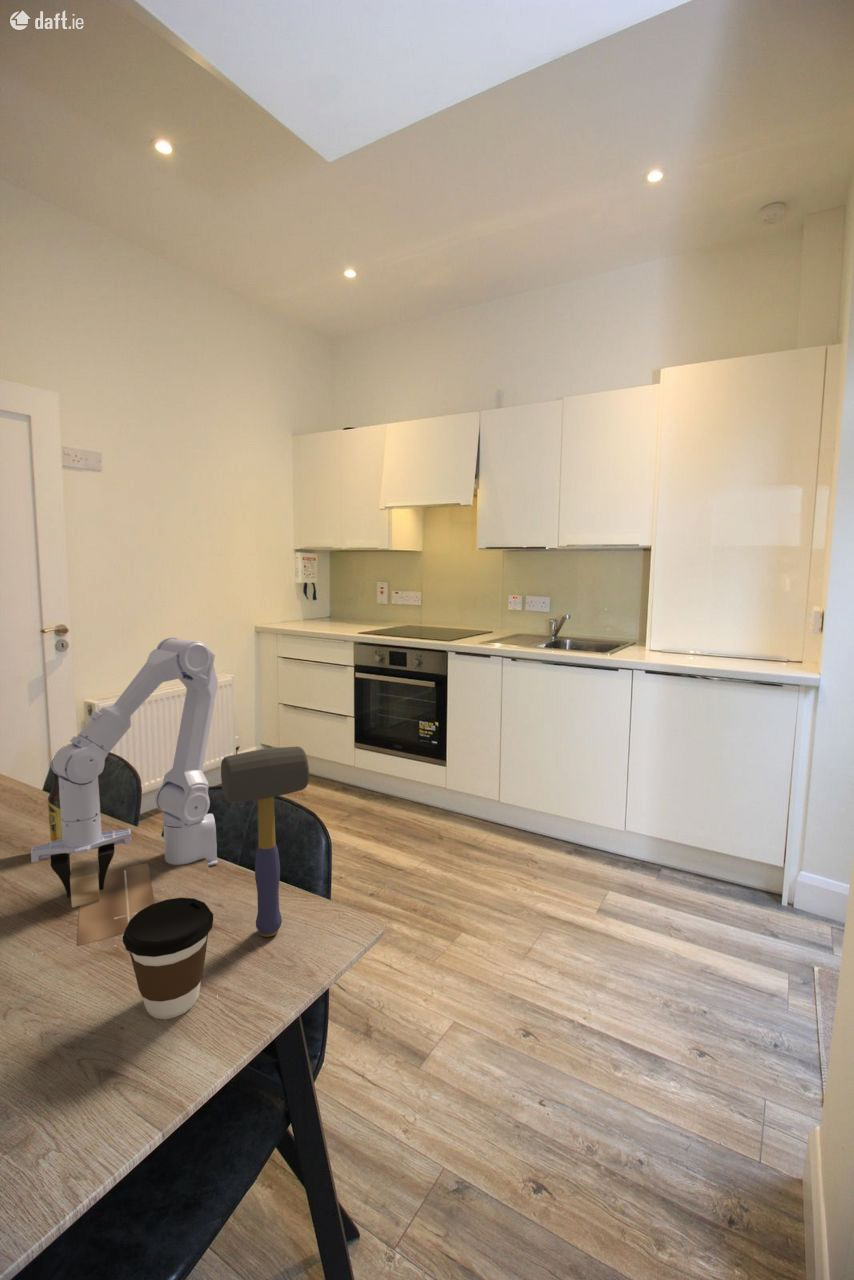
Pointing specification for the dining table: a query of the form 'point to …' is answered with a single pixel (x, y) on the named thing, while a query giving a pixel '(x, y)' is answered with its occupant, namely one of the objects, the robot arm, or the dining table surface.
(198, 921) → the coffee cup
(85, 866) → the light wooden block
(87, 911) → the walnut board
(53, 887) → the dining table surface
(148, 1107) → the dining table surface
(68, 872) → the robot arm
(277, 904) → the rubber mallet
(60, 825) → the sauce bottle
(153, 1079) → the dining table surface
